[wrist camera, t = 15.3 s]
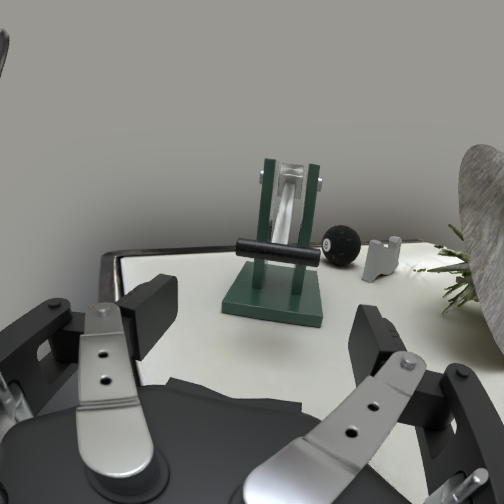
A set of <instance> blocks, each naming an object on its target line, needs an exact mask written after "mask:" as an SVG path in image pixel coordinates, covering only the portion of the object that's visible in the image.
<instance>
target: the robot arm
mask: <svg viewBox="0 0 504 504" xmlns="http://www.w3.org/2000/svg"><path fill="white" fill-rule="evenodd" d="M8 48H9V33H8V31H7V30H6V29H4V28H0V77H1V73H2V70H3V67H4V63H5V60H6V56H7V52H8ZM177 312H178V281H177V278H176V277H175V276H170V275H165V274H159V275H157V276H156V277H155V278H153V279H152V280H151V281H150V282H146V283H143V284H140V285H138V286H137V287H135V288H134V289H133V290H132V291H130V292H129V293H128V294H126V295H125V296H123V297H122V298H121V299H119V300H118V301H117V302H115V303H114V304H112V303H97V304H94V305H92V306H90V307H88V308H87V310H86V312H85V313H80V312H72V311H71V306H70V302H69V301H68V300H67V299H63V298H53V299H49V300H46V301H45V302H43V303H41V304H40V305H38V306H37V307H35V308H34V309H32V310H31V311H29V312H28V313H26V314H25V315H23V316H22V317H21V318H19V319H18V320H16V321H15V322H13V323H12V324H10V325H9V326H8V327H6V328H5V329H3V330H2V331H1V332H0V504H412V503H411V502H409V501H408V500H407V499H406V498H405V497H404V496H403V495H401V494H400V493H399V492H398V491H397V490H396V489H395V488H394V487H392V486H391V485H390V484H389V483H388V482H387V481H386V480H385V479H384V478H383V477H381V476H380V475H379V474H378V473H377V472H376V471H375V470H374V469H373V468H372V467H371V466H370V465H369V464H368V463H369V461H370V460H371V459H372V457H373V456H374V455H375V453H376V452H377V451H378V449H379V448H380V446H381V445H382V444H383V442H384V441H385V439H386V438H387V436H388V435H389V433H390V432H391V430H392V429H393V427H394V426H395V424H396V423H397V422H399V423H403V424H407V425H412V426H415V430H416V434H417V438H418V443H419V447H420V452H421V456H422V461H423V466H424V471H425V476H426V482H427V488H428V494H429V497H428V498H427V499H426V500H425V502H424V503H423V504H504V425H503V423H502V421H501V419H500V417H499V415H498V413H497V411H496V409H495V407H494V405H493V403H492V402H491V400H490V398H489V396H488V394H487V393H486V391H485V389H484V387H483V386H482V384H481V382H480V380H479V379H478V377H477V375H476V374H475V372H474V371H473V370H472V369H470V368H469V367H467V366H465V365H463V364H459V363H453V364H449V365H448V366H447V368H446V370H445V372H444V374H442V373H437V372H433V371H429V370H426V363H425V361H424V360H423V359H422V358H421V357H420V356H418V355H416V354H414V353H411V352H407V350H406V348H405V346H404V344H403V342H402V340H401V338H400V336H399V334H398V332H397V330H396V329H395V327H394V325H393V324H392V323H391V322H390V321H389V320H387V319H386V318H382V316H381V314H380V312H379V310H378V308H377V307H376V306H370V305H361V304H360V305H359V306H358V308H357V312H356V315H355V319H354V323H353V326H352V330H351V333H350V337H349V342H348V350H349V354H350V359H351V364H352V368H353V373H354V378H355V383H356V389H355V390H354V391H353V392H352V393H351V394H350V395H349V396H348V397H347V398H346V399H345V400H344V401H343V402H342V403H341V404H340V405H339V406H338V407H337V408H336V409H335V410H334V411H332V412H331V413H330V414H329V415H328V416H327V417H326V418H325V419H324V420H323V421H321V420H319V419H317V418H315V417H313V416H311V415H308V414H306V413H302V412H301V410H302V403H300V402H291V401H283V400H276V399H269V398H264V399H235V398H230V397H227V396H225V395H222V394H220V393H218V392H215V391H213V390H211V389H208V388H206V387H204V386H202V385H198V384H194V383H190V382H187V381H183V380H179V379H175V378H172V377H170V379H169V380H168V382H167V383H166V385H146V386H140V387H136V385H135V381H134V377H133V373H132V368H131V364H130V358H132V359H135V360H138V361H142V360H143V359H144V357H145V356H146V355H147V354H148V352H149V351H150V350H151V349H152V348H153V346H154V345H155V344H156V343H157V341H158V340H159V339H160V338H161V337H162V335H163V334H164V333H165V332H166V331H167V329H168V328H169V327H170V326H171V324H172V323H173V322H174V321H175V319H176V316H177ZM47 339H48V341H49V344H50V348H51V352H50V353H48V354H47V355H46V356H45V357H44V358H43V359H42V360H41V361H40V362H39V361H38V359H37V350H38V347H39V346H40V345H41V344H42V343H43V342H45V341H46V340H47ZM78 368H79V369H78ZM77 369H78V370H79V372H78V376H79V377H78V383H79V384H78V385H79V405H78V406H75V407H72V408H68V409H65V410H61V411H57V412H53V413H50V414H46V415H42V416H38V417H35V416H36V415H37V414H38V413H39V412H40V410H41V409H42V408H43V407H44V406H45V405H46V404H47V403H48V401H49V400H50V399H51V398H52V397H53V396H54V395H55V394H56V392H57V391H58V390H59V389H60V388H61V387H62V386H63V384H64V383H65V382H66V381H67V380H68V379H69V378H70V377H71V376H72V374H74V373H75V371H76V370H77ZM454 418H455V421H456V424H457V430H456V433H455V434H454V431H453V429H452V426H451V422H452V420H453V419H454Z"/></svg>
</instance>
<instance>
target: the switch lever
mask: <svg viewBox="0 0 504 504" xmlns="http://www.w3.org/2000/svg"><path fill="white" fill-rule="evenodd" d="M303 170H304V166H302V165H294V164H286V163H282V166H281V169H280V173H279V182H278V183H279V184H278V196H280V197H281V200H280V205H279V209H278V214H277V218H276V223H275V227H274V232H273V236H272V241H271V242H266V241H258V240H251V239H243V238H238V240H237V244H236V251H235V252H236V255H237V256H242V257H249V258H256V259H263V260H270V261H277V262H284V263H291V264H298V265H305V266H312V267H318V266H319V262H320V255H321V251H320V249H316V248H309V247H302V246H295V245H288V240H289V233H290V226H291V219H292V212H293V205H294V198H295V199H300V196H301V189H302V181H303Z"/></svg>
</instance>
